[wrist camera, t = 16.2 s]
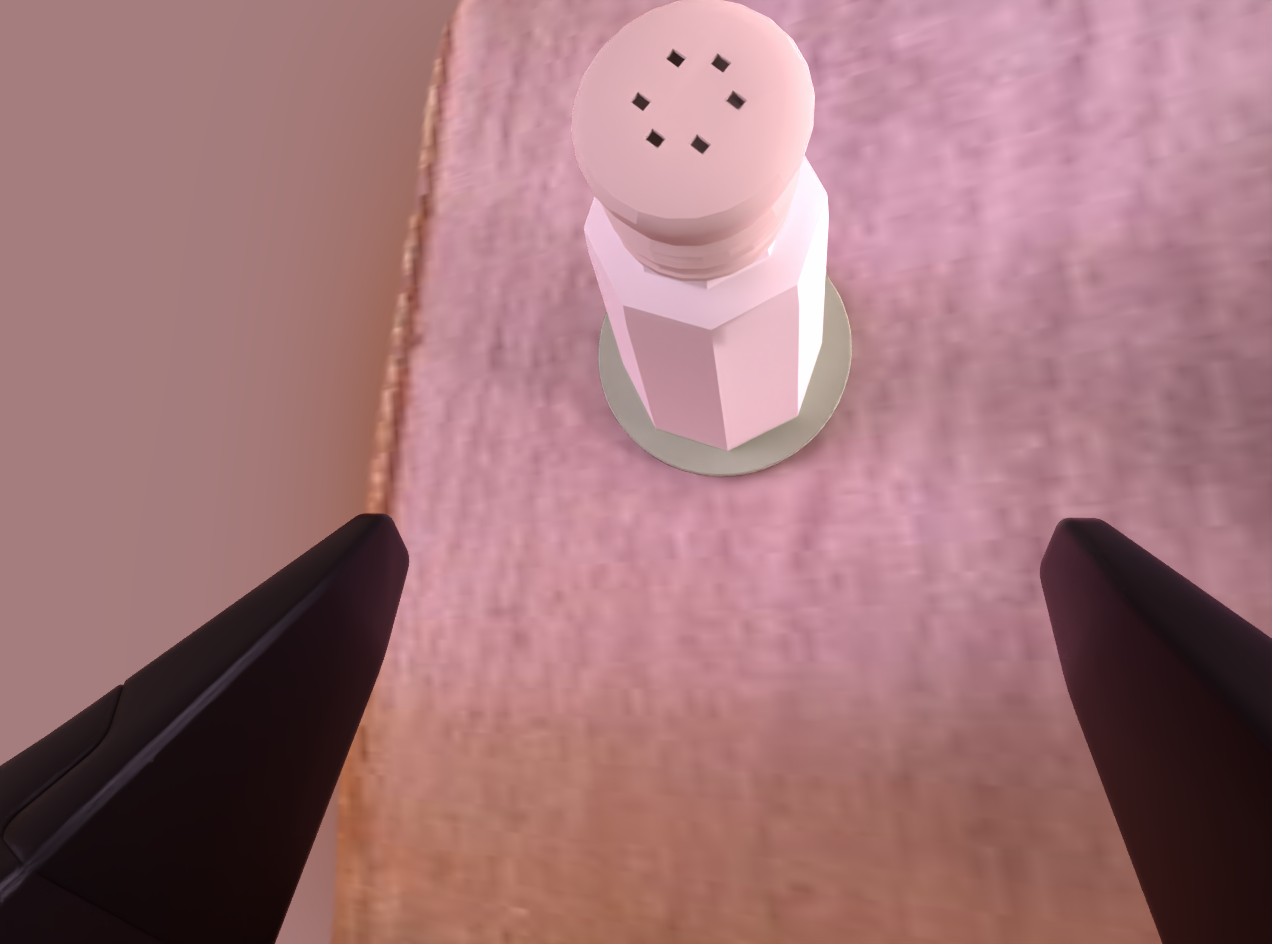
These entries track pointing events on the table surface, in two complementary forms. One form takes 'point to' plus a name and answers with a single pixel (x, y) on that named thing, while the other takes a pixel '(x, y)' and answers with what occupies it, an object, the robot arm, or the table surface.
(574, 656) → the table surface
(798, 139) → the pepper shaker
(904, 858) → the table surface
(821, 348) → the coaster
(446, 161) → the table surface
